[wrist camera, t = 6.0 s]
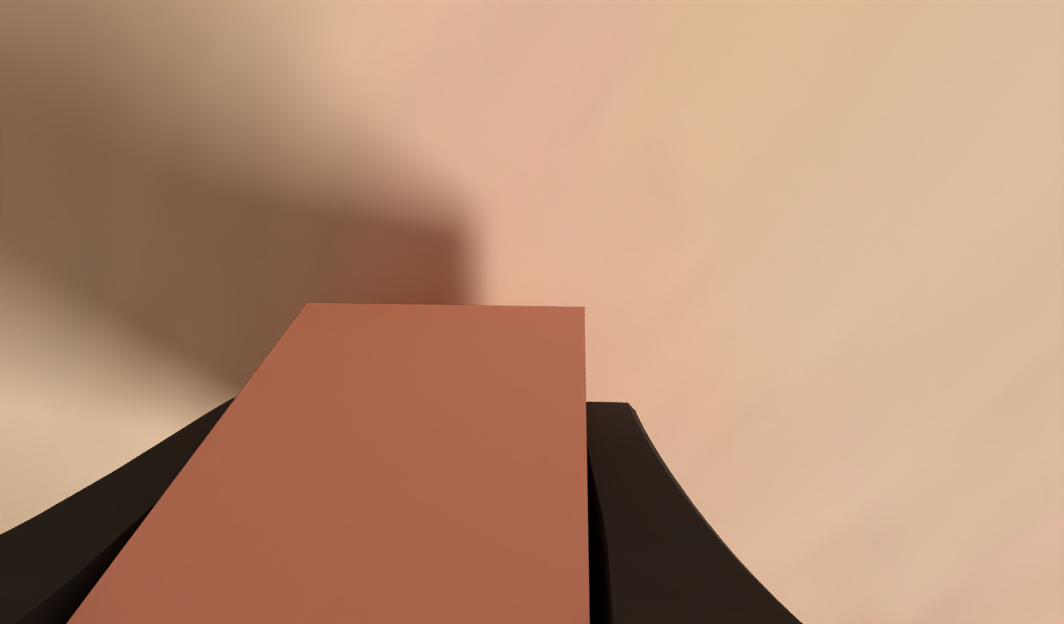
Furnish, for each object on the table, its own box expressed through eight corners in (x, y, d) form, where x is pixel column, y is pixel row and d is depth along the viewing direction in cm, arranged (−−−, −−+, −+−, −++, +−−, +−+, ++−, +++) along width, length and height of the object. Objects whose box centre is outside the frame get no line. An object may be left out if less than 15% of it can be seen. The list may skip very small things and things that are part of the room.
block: (578, 528, 13) (579, 956, 7) (338, 520, 13) (168, 933, 8) (584, 307, 11) (590, 653, 6) (307, 302, 11) (59, 633, 6)
